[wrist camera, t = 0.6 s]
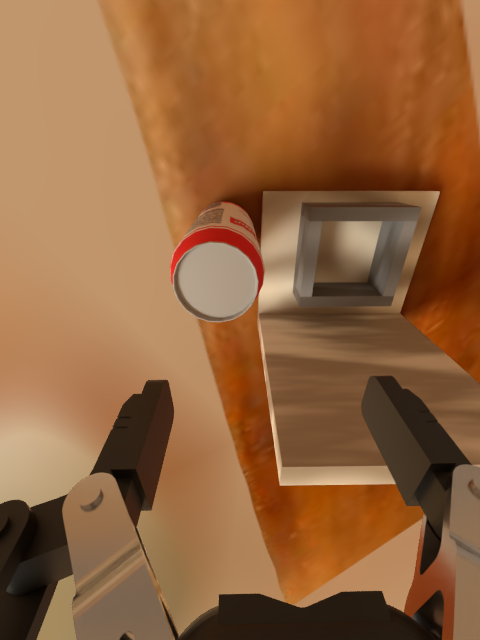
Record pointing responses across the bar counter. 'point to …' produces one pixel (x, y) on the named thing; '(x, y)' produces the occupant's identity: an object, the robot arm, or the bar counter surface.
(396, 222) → the can rack
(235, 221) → the beer can
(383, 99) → the bar counter surface
